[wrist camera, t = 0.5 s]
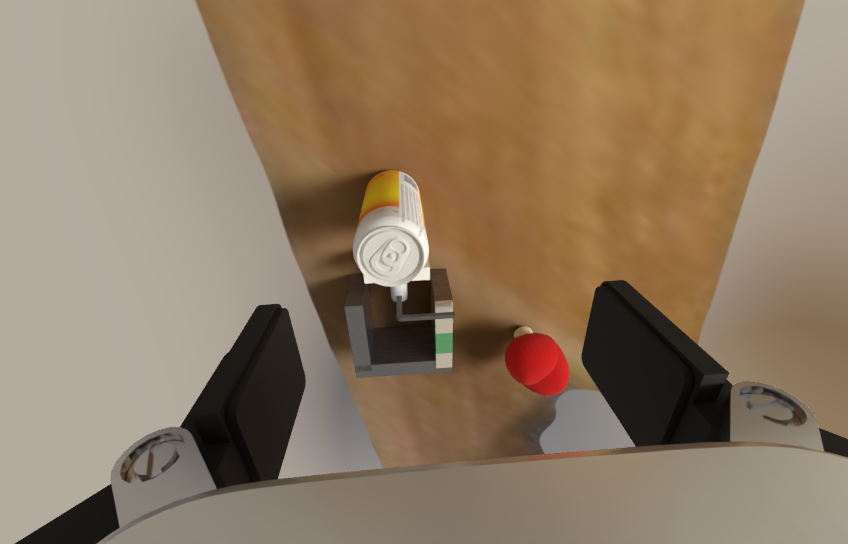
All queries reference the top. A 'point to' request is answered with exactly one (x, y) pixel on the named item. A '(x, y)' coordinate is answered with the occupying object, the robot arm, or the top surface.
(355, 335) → the gauge frame
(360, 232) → the beer can
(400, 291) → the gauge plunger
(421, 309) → the top surface
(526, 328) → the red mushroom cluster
